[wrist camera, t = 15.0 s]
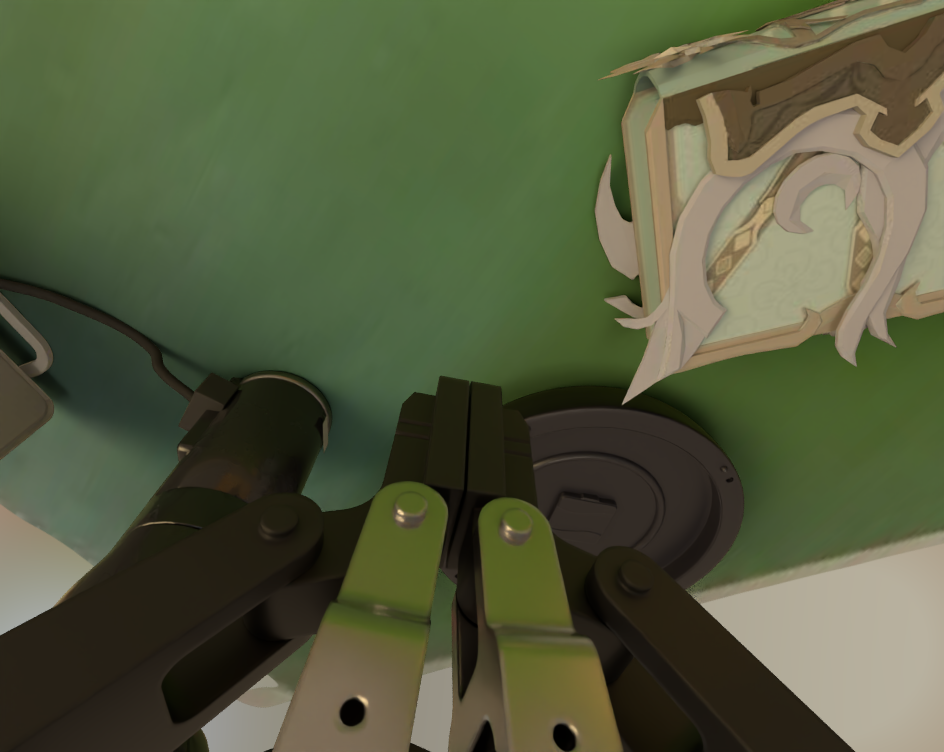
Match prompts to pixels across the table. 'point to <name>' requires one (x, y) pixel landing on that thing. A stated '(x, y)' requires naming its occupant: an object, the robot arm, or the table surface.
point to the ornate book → (783, 185)
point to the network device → (22, 385)
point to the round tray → (631, 478)
